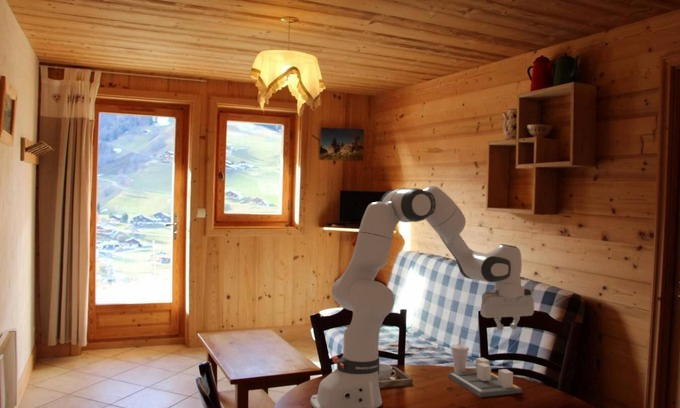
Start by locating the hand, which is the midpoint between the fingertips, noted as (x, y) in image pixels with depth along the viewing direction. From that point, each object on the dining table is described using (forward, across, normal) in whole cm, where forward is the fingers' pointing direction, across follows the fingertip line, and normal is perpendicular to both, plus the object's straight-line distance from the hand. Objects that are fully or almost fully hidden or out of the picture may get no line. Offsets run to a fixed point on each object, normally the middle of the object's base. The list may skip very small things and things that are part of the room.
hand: (506, 329), depth 195 cm
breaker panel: (+19, -9, 0) cm, 21 cm away
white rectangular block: (+17, -9, 0) cm, 19 cm away
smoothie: (+19, -10, +14) cm, 26 cm away
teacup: (+20, -42, +14) cm, 48 cm away
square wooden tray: (+19, -41, +14) cm, 47 cm away
